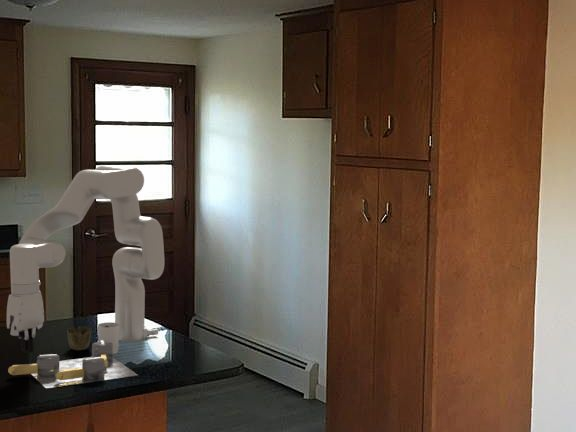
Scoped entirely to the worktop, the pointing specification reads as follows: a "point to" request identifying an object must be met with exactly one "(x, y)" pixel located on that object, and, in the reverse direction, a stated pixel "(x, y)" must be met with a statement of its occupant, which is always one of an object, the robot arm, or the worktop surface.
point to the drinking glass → (109, 334)
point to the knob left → (85, 370)
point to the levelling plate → (111, 372)
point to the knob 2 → (103, 351)
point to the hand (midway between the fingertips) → (27, 351)
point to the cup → (79, 338)
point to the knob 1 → (38, 367)
